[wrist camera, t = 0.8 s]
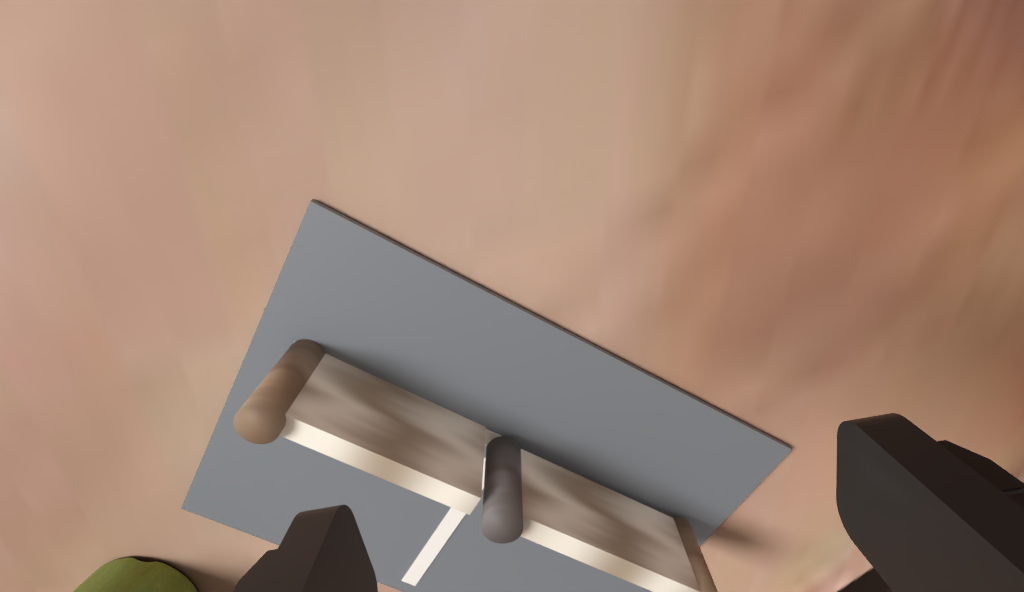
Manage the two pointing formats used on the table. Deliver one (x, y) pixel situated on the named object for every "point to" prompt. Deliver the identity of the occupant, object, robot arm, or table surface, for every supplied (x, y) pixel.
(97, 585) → the plant pot
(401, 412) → the fixed fence section
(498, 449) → the swinging fence section
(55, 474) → the table surface
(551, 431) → the card
